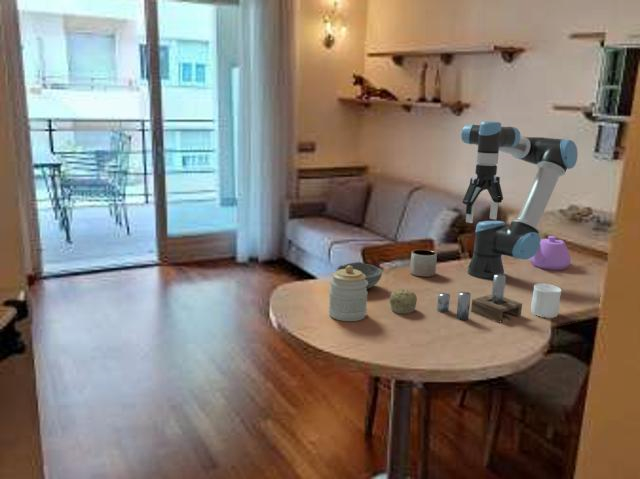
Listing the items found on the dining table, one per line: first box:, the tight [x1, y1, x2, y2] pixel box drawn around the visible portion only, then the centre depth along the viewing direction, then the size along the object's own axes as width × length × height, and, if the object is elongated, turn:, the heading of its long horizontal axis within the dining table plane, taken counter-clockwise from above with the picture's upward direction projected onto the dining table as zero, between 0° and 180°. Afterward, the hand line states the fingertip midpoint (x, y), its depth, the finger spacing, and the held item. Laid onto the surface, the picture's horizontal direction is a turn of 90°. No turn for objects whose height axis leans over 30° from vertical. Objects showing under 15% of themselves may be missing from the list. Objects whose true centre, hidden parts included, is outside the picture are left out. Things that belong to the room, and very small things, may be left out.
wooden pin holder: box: [470, 293, 523, 323], centre depth 208 cm, size 12×12×4 cm
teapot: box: [528, 235, 571, 271], centre depth 270 cm, size 25×18×14 cm
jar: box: [328, 265, 368, 322], centre depth 200 cm, size 13×13×18 cm
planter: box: [409, 248, 438, 278], centre depth 252 cm, size 11×11×10 cm
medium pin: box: [456, 291, 472, 322], centre depth 201 cm, size 4×4×9 cm
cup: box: [530, 282, 562, 319], centre depth 208 cm, size 10×10×10 cm
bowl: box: [336, 261, 383, 290], centre depth 231 cm, size 18×18×8 cm
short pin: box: [436, 292, 451, 313], centre depth 209 cm, size 4×4×6 cm
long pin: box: [491, 274, 507, 305], centre depth 206 cm, size 4×4×14 cm
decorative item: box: [389, 288, 418, 314], centre depth 208 cm, size 10×10×10 cm
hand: (481, 220), depth 223 cm, fingers open, 13 cm apart
